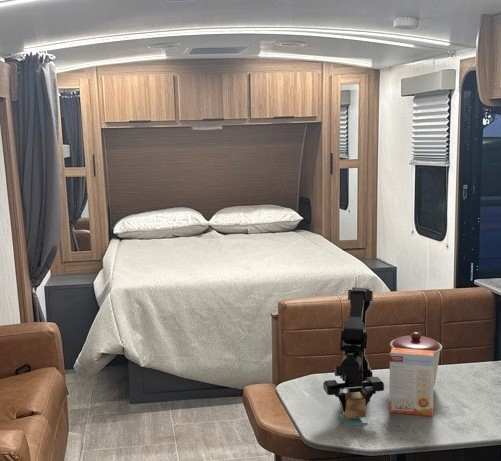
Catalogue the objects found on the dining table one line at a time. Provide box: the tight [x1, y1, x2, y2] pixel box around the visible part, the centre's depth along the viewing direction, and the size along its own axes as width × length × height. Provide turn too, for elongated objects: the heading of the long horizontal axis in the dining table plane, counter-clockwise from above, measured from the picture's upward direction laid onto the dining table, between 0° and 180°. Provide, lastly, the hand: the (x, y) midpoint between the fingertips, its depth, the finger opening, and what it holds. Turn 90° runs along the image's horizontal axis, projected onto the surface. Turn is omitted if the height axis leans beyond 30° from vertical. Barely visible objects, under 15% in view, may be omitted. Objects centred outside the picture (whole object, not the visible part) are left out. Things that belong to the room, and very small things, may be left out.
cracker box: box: [388, 347, 435, 417], centre depth 207 cm, size 14×6×21 cm, turn 71°
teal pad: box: [338, 413, 369, 427], centre depth 203 cm, size 7×7×1 cm
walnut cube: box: [341, 392, 366, 419], centre depth 202 cm, size 6×6×6 cm
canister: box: [389, 331, 443, 386], centre depth 226 cm, size 18×18×21 cm
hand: (353, 410), depth 202 cm, fingers closed on walnut cube, 6 cm apart
